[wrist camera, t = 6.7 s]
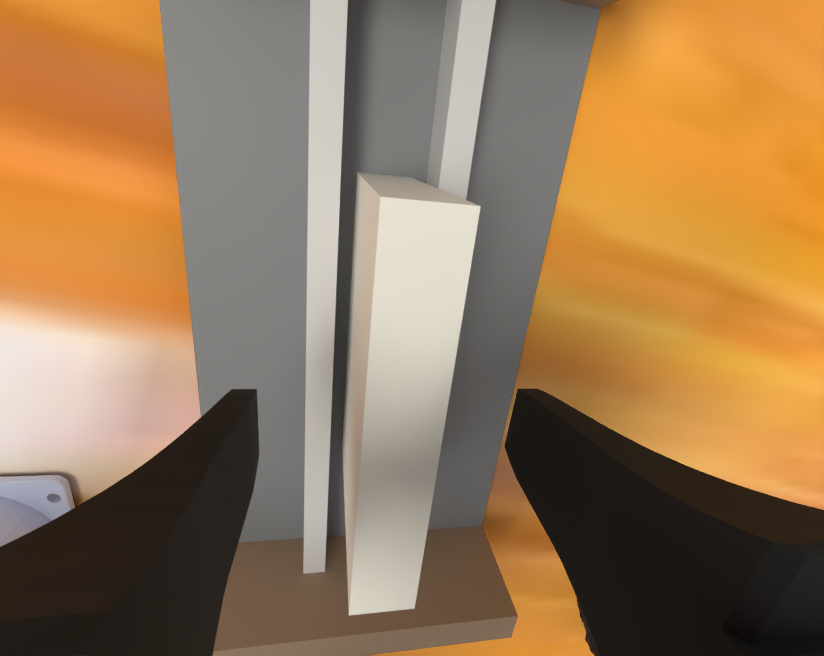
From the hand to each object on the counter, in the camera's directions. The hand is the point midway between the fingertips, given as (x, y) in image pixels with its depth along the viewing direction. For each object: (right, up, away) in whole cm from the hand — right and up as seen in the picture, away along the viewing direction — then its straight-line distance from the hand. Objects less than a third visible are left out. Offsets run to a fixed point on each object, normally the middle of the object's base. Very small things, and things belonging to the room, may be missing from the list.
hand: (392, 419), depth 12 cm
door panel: (-1, +3, +6) cm, 7 cm away
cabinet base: (-1, +3, +7) cm, 8 cm away
